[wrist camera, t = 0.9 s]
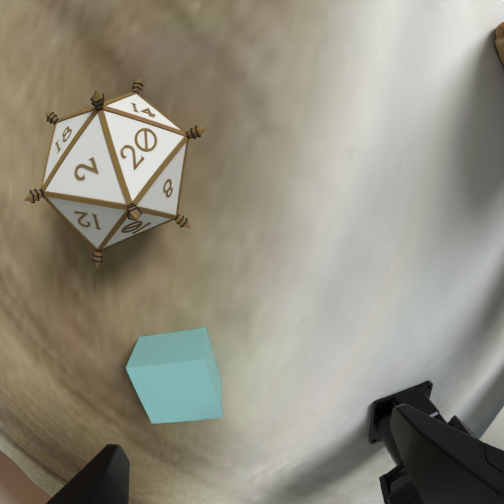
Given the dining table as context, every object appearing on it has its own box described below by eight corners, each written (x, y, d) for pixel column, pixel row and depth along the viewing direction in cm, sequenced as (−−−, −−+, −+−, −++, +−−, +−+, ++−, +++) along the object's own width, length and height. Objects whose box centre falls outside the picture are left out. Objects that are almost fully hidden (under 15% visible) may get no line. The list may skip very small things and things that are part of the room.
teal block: (221, 381, 22) (222, 417, 18) (160, 388, 22) (152, 423, 18) (206, 326, 21) (204, 358, 17) (139, 336, 21) (125, 367, 17)
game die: (143, 142, 21) (136, 21, 11) (225, 217, 20) (260, 93, 10) (43, 217, 17) (-24, 111, 8) (115, 314, 16) (40, 243, 7)
